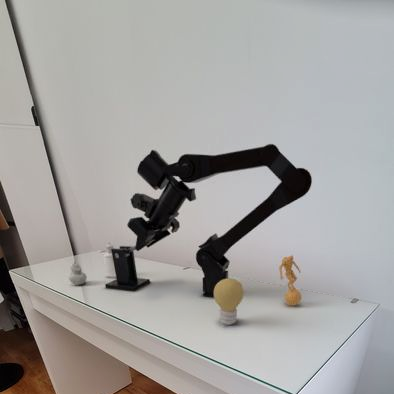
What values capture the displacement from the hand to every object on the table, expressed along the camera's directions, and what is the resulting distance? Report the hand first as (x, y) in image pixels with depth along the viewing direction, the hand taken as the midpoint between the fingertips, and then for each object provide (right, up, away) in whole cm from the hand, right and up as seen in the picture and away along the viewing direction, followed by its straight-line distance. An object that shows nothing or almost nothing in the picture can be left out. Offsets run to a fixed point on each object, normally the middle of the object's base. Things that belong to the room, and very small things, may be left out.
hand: (141, 248), depth 84 cm
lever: (-3, -1, +2) cm, 3 cm away
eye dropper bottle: (-13, -4, +19) cm, 23 cm away
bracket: (-6, -9, +9) cm, 14 cm away
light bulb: (+23, -24, -19) cm, 38 cm away
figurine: (+40, -18, -11) cm, 45 cm away
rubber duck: (-24, -8, +13) cm, 28 cm away
